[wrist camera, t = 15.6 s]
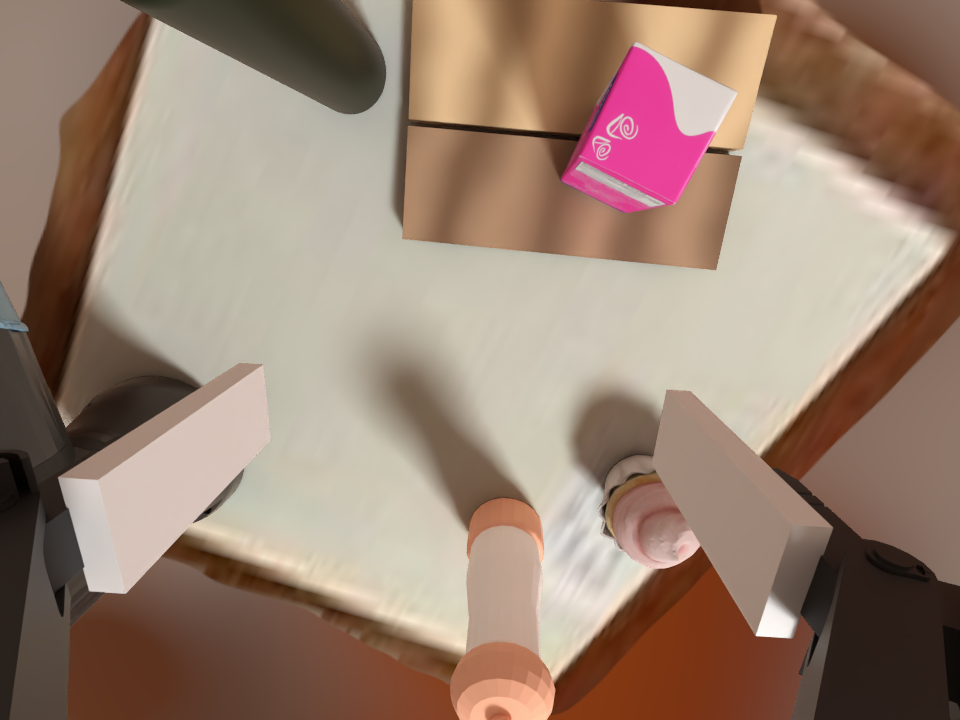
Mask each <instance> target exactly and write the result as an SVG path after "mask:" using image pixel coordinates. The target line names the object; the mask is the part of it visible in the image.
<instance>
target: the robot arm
mask: <svg viewBox="0 0 960 720" xmlns="http://www.w3.org/2000/svg"><path fill="white" fill-rule="evenodd" d="M26 332H28V327H27V326H26V324H24V323H22V322H21V321H20V319H19V317H18V315H17V313H16V311H15V309H14V307H13V305H12V304H11V302H10V300H9V298H8V296H7V294H6V292H5V289H4V287H3V285H2V283H1V282H0V720H67V703H68V700H67V699H68V671H69V668H68V667H69V638H70V627H71V626H72V624H74V623H75V622H76V621H77V620H78V619H79V618H80V617H81V616H82V615H83V614H84V613H85V612H86V611H87V610H88V609H89V608H90V607H91V606H92V605H93V604H94V603H95V602H96V601H97V600H98V599H99V598H100V597H101V596H102V595H103V594H104V593H105V592H108V593H123V594H126V593H127V592H128V591H129V589H130V588H131V587H132V586H133V585H134V584H135V583H136V582H137V581H138V580H139V579H140V578H141V577H142V576H143V575H144V574H145V573H146V571H147V570H148V569H149V568H150V567H151V566H152V565H153V564H154V563H155V562H156V561H157V560H158V559H159V558H160V557H161V556H162V555H163V554H164V553H165V551H166V550H167V549H168V548H169V547H170V546H171V545H172V544H173V543H174V542H175V541H176V540H177V539H178V538H179V537H180V536H181V534H182V533H183V532H184V531H185V530H186V529H187V528H188V527H189V526H190V525H191V524H192V523H194V522H197V521H199V520H201V519H203V518H205V517H207V516H209V515H210V514H212V513H213V512H215V511H216V510H217V509H218V508H219V507H220V506H221V505H222V504H223V503H224V502H225V501H226V500H227V499H228V498H229V497H230V496H231V495H232V494H233V493H234V492H235V490H236V489H237V487H238V485H239V484H240V481H241V479H242V476H243V472H244V468H245V467H246V466H247V464H248V463H249V462H250V461H251V460H252V459H253V458H254V457H255V456H256V455H257V454H258V453H259V452H260V451H261V450H262V449H263V447H264V446H265V445H266V444H267V443H268V442H269V441H270V440H271V438H270V428H269V418H268V408H267V398H266V388H265V378H264V368H263V364H247V363H239V364H237V365H236V366H234V367H233V368H231V369H230V370H228V371H226V372H225V373H223V374H222V375H220V376H218V377H217V378H215V379H214V380H212V381H210V382H209V383H207V384H206V385H204V386H203V387H201V388H199V389H198V390H197V389H195V388H194V387H192V386H190V385H187V384H185V383H183V382H180V381H177V380H174V379H170V378H165V377H156V376H145V377H137V378H133V379H130V380H127V381H124V382H122V383H120V384H118V385H116V386H113V387H111V388H109V389H107V390H105V391H103V392H102V393H100V394H99V395H97V396H96V397H95V398H93V399H92V400H91V401H90V402H89V403H88V404H87V406H86V407H85V408H84V409H83V410H82V412H81V413H80V415H79V416H78V417H76V418H75V419H74V420H73V421H72V422H71V423H70V424H69V425H68V426H67V427H66V428H65V425H64V423H63V421H62V418H61V416H60V414H59V411H58V409H57V407H56V404H55V402H54V400H53V397H52V395H51V393H50V390H49V388H48V386H47V383H46V381H45V379H44V376H43V374H42V371H41V369H40V366H39V364H38V361H37V359H36V356H35V354H34V351H33V349H32V346H31V343H30V341H29V338H28V336H27V333H26ZM652 466H653V467H654V469H655V470H656V472H657V474H658V475H659V477H660V479H661V480H662V482H663V484H664V485H665V487H666V489H667V490H668V492H669V494H670V495H671V497H672V499H673V500H674V502H675V503H676V505H677V507H678V508H679V510H680V512H681V513H682V515H683V517H684V518H685V520H686V522H687V523H688V525H689V527H690V528H691V530H692V532H693V533H694V535H695V536H696V538H697V540H698V541H699V543H700V545H701V546H702V548H703V550H704V551H705V553H706V555H707V556H708V558H709V560H710V561H711V563H712V565H713V566H714V568H715V569H716V571H717V573H718V574H719V576H720V578H721V579H722V581H723V582H724V584H725V586H726V587H727V589H728V591H729V592H730V594H731V596H732V597H733V599H734V601H735V602H736V604H737V606H738V607H739V609H740V610H741V612H742V614H743V615H744V617H745V619H746V621H747V622H748V624H749V625H750V627H751V629H752V630H753V632H754V634H755V635H756V636H767V637H781V638H793V637H794V634H795V631H796V629H797V626H798V623H799V620H800V617H801V615H802V616H803V617H804V619H805V620H806V621H807V623H808V624H809V625H810V627H811V628H812V629H813V631H814V635H813V637H812V640H811V643H810V645H809V648H808V650H807V653H806V656H805V658H804V661H803V663H802V666H801V669H800V671H799V674H800V675H802V678H801V682H800V686H799V690H798V695H797V699H796V703H795V707H794V711H793V716H792V720H960V586H957V585H953V584H949V583H946V582H942V581H938V580H937V578H936V576H935V574H934V573H933V572H932V571H931V570H930V569H929V568H928V567H927V566H926V565H925V564H924V563H923V562H921V561H919V560H918V559H916V558H915V557H913V556H912V555H910V554H908V553H906V552H904V551H902V550H900V549H898V548H896V547H894V546H891V545H888V544H884V543H881V542H878V541H874V540H867V539H862V538H861V537H860V536H859V535H858V534H856V533H855V532H854V531H853V530H852V529H851V528H850V527H848V525H846V523H844V522H843V521H842V520H841V519H840V518H839V517H838V516H837V515H836V514H835V513H833V512H832V511H831V510H830V509H829V508H828V507H824V503H822V502H821V501H820V500H819V499H818V498H817V497H816V496H812V493H811V492H810V491H809V490H808V489H807V488H806V487H805V486H804V485H803V484H801V483H800V482H799V481H798V480H797V479H795V478H793V477H792V476H790V475H788V474H786V473H785V472H783V471H781V470H779V469H778V468H770V467H769V466H768V465H767V464H766V463H765V462H764V461H763V460H762V459H761V458H760V457H759V456H758V455H757V454H756V453H755V452H753V451H752V450H751V449H750V448H749V447H748V446H747V445H746V444H745V443H744V442H743V441H742V440H741V439H740V438H739V437H738V436H737V435H736V434H735V433H734V432H733V431H731V430H730V429H729V428H728V427H727V426H726V425H725V424H724V423H723V422H722V421H721V420H720V419H719V418H718V417H717V416H716V415H715V414H714V413H713V412H712V411H711V410H709V409H708V408H707V407H706V406H705V405H704V404H703V403H702V402H701V401H700V400H699V399H698V398H697V397H696V396H695V395H694V394H693V393H692V392H691V391H678V390H667V391H666V396H665V401H664V405H663V410H662V415H661V420H660V425H659V430H658V435H657V440H656V445H655V450H654V455H653V460H652Z"/></svg>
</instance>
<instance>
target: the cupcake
mask: <svg viewBox="0 0 960 720" xmlns="http://www.w3.org/2000/svg"><path fill="white" fill-rule="evenodd" d="M652 460H653V456H648V455H634V456H630V457H627V458H625V459H623V460H621V461H619V462H618V463H617V464H616V465H615V466H614V467H613V468H612V469H611V470H610V472H609V473H608V475H607V478H606V481H605V491H604V498H603V500H602V502H601V504H600V506H599V508H598V510H597V512H598V514H599V516H600V517H601V518H602V519H603V523H602V527H601V535H603V536H605V537H607V538H610V539H613V540H614V542H615V546H616V548H617V549H618V550H620V551H623V552H626V553H627V554H628V555H629V556H630V557H631V558H632V559H633V560H635V561H637V562H639V563H641V564H643V565H645V566H648V567H650V568H668V567H672V566H675V565H677V564H679V563H681V562H682V561H684V560H686V559H687V558H689V557H690V556H692V555H693V554H694V553H695V551H696V550H697V549H698V548H699V546H700V543H699V541H698V540H697V538H696V536H695V535H694V533H693V532H692V530H691V528H690V527H689V525H688V523H687V522H686V520H685V518H684V517H683V515H682V513H681V512H680V510H679V508H678V507H677V505H676V503H675V502H674V500H673V499H672V497H671V495H670V494H669V492H668V490H667V489H666V487H665V485H664V484H663V482H662V480H661V479H660V477H659V475H658V474H657V472H656V470H655V469H654V467H653V466H652Z"/></svg>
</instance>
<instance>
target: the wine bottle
mask: <svg viewBox="0 0 960 720" xmlns="http://www.w3.org/2000/svg"><path fill="white" fill-rule="evenodd" d="M121 1H123V2H125V3H127V4H128V5H130V6H132V7H134V8H136V9H138V10H140V11H142V12H144V13H146V14H148V15H150V16H152V17H154V18H156V19H158V20H160V21H161V22H163V23H165V24H167V25H169V26H171V27H173V28H175V29H177V30H179V31H181V32H183V33H185V34H187V35H189V36H191V37H193V38H195V39H197V40H199V41H200V42H202V43H204V44H206V45H208V46H210V47H212V48H214V49H216V50H218V51H220V52H222V53H224V54H226V55H228V56H230V57H232V58H234V59H236V60H238V61H239V62H241V63H243V64H245V65H247V66H249V67H251V68H253V69H255V70H257V71H259V72H261V73H263V74H265V75H267V76H269V77H271V78H273V79H275V80H277V81H278V82H280V83H282V84H284V85H286V86H288V87H290V88H292V89H294V90H296V91H298V92H300V93H302V94H304V95H306V96H308V97H310V98H312V99H314V100H316V101H317V102H319V103H321V104H323V105H325V106H327V107H329V108H331V109H333V110H335V111H337V112H340V113H344V114H357V113H361V112H364V111H366V110H367V109H369V108H370V107H372V106H373V105H374V104H375V103H376V102H377V100H378V99H379V97H380V96H381V94H382V91H383V89H384V85H385V80H386V66H385V61H384V57H383V54H382V52H381V49H380V48H379V46H378V44H377V43H376V41H375V40H374V39H373V38H372V36H371V35H370V34H369V33H368V32H367V31H366V29H365V28H364V27H363V26H362V25H361V24H360V22H359V21H358V20H357V19H356V18H355V17H354V15H353V14H352V13H351V12H350V11H349V10H348V8H347V7H346V6H345V5H344V4H343V3H342V1H341V0H121Z"/></svg>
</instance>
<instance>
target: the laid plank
mask: <svg viewBox="0 0 960 720" xmlns="http://www.w3.org/2000/svg"><path fill="white" fill-rule="evenodd" d="M776 17H777V15H768V14H755V13H743V12H731V11H718V10H706V9H694V8H682V7H669V6H657V5H645V4H632V3H620V2H608V1H595V0H413V7H412V35H411V63H410V91H409V119H410V120H411V121H412V122H418V123H429V124H440V125H450V126H461V127H472V128H483V129H494V130H505V131H516V132H527V133H538V134H549V135H560V136H571V137H581V135H582V133H583V131H584V129H585V127H586V125H587V122H588V120H589V118H590V116H591V114H592V112H593V110H594V107H595V105H596V103H597V101H598V99H599V98H600V96H601V94H602V93H603V91H604V90H605V88H606V86H607V85H608V83H609V81H610V80H611V78H612V76H613V74H614V73H615V71H616V70H617V68H618V67H619V65H620V63H621V62H622V60H623V59H624V57H625V55H626V54H627V52H628V50H629V49H630V47H631V45H632V44H633V42H635V41H637V42H639V43H641V44H643V45H644V46H647V47H649V48H651V49H653V50H655V51H656V52H658V53H660V54H662V55H664V56H666V57H668V58H670V59H672V60H674V61H676V62H678V63H680V64H682V65H684V66H686V67H688V68H690V69H693V70H695V71H697V72H699V73H701V74H703V75H705V76H707V77H709V78H711V79H713V80H715V81H717V82H719V83H721V84H723V85H726V86H728V87H730V88H731V89H734V90H736V91H737V92H738V93H737V96H736V98H735V100H734V101H733V103H732V105H731V107H730V109H729V111H728V112H727V114H726V116H725V118H724V120H723V121H722V123H721V125H720V127H719V129H718V130H717V132H716V134H715V136H714V138H713V140H712V141H711V143H710V145H709V147H708V149H713V150H724V151H736V150H741V149H743V147H744V143H745V139H746V135H747V131H748V127H749V123H750V120H751V116H752V112H753V108H754V104H755V100H756V96H757V92H758V88H759V84H760V80H761V76H762V72H763V68H764V65H765V61H766V57H767V53H768V49H769V45H770V41H771V37H772V33H773V29H774V25H775V21H776Z"/></svg>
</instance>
